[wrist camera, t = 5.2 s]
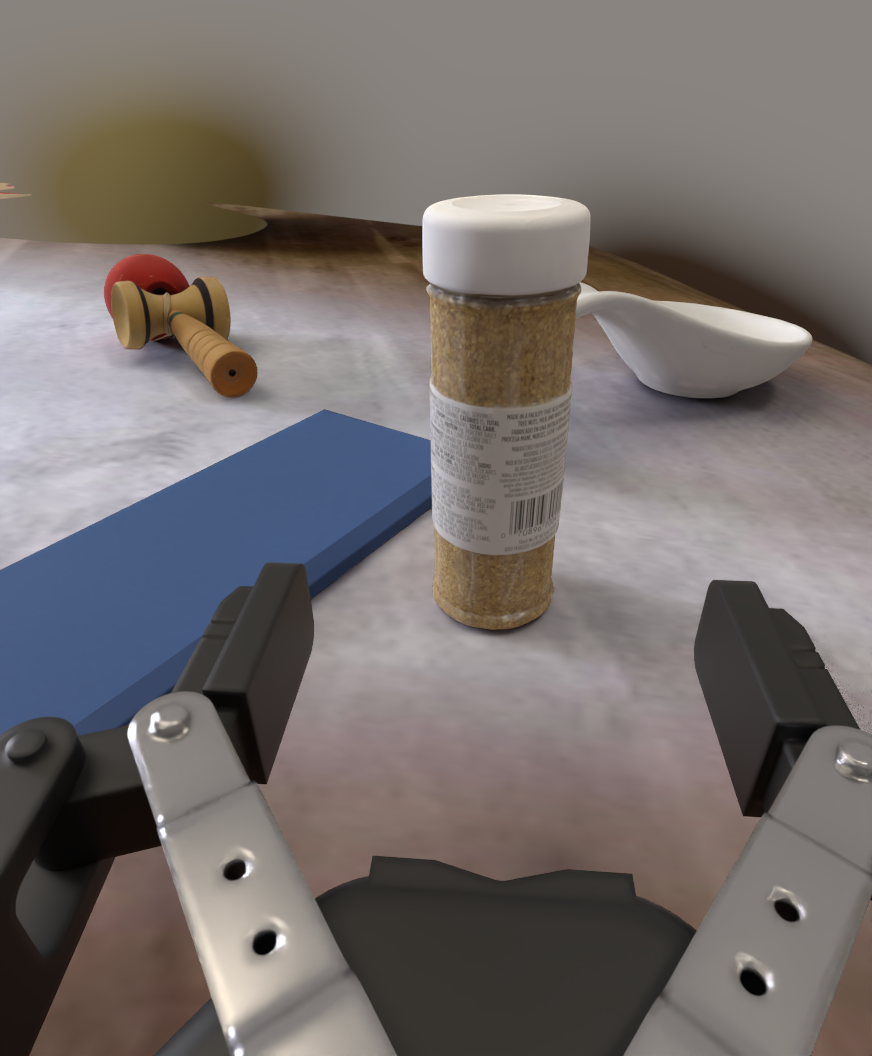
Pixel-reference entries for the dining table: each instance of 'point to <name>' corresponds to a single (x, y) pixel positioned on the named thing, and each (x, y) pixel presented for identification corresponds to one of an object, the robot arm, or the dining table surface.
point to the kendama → (178, 318)
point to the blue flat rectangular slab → (195, 565)
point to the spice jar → (500, 396)
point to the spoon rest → (694, 343)
